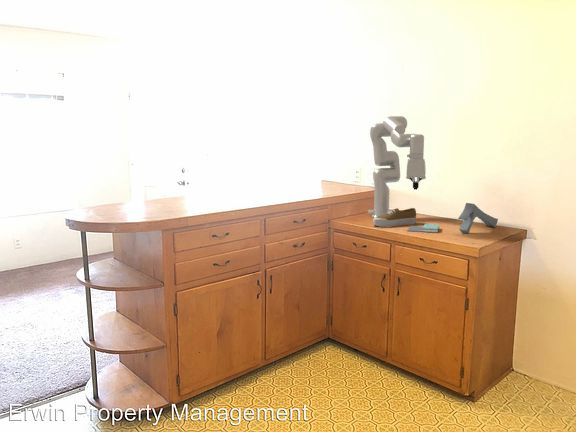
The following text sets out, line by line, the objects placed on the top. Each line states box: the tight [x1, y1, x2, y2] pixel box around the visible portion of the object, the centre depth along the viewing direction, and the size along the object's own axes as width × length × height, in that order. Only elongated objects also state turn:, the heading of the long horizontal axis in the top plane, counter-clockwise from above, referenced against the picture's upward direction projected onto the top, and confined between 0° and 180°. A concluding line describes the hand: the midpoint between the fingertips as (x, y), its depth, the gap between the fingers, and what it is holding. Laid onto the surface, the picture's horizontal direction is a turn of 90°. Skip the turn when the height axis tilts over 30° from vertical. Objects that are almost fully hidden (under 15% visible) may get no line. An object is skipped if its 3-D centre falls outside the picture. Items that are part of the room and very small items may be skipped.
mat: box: [407, 225, 438, 234], centre depth 280 cm, size 16×13×1 cm
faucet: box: [458, 202, 499, 235], centre depth 275 cm, size 6×17×30 cm
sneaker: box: [372, 207, 417, 228], centre depth 295 cm, size 10×29×10 cm, turn 109°
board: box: [422, 223, 440, 233], centre depth 278 cm, size 2×12×8 cm
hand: (415, 189), depth 277 cm, fingers closed
